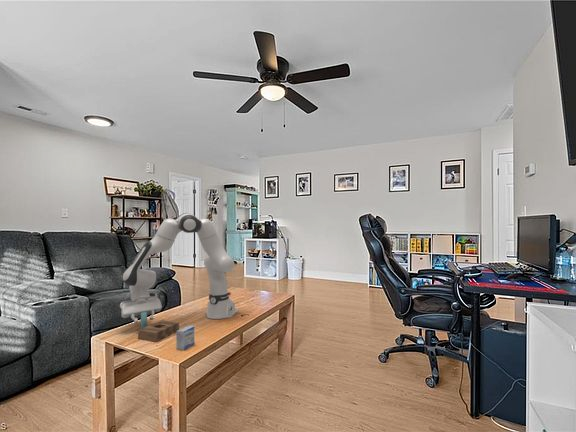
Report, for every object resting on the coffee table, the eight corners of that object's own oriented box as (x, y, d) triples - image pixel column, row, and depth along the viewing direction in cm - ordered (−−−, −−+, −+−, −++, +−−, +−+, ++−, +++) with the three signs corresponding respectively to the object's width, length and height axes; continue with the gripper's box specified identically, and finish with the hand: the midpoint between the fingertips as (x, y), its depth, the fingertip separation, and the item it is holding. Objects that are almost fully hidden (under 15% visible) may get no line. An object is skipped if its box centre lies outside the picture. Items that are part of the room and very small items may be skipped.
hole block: (161, 328, 162) (162, 320, 163) (179, 330, 158) (179, 322, 158) (138, 338, 148) (138, 329, 148) (156, 342, 143) (156, 332, 143)
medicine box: (183, 350, 134) (183, 331, 134) (175, 349, 135) (176, 330, 136) (194, 344, 141) (194, 326, 141) (187, 342, 143) (187, 324, 143)
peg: (143, 329, 160) (144, 311, 160) (147, 330, 159) (148, 312, 159) (139, 331, 157) (139, 313, 157) (143, 332, 156) (143, 313, 156)
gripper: (120, 298, 157) (123, 321, 149) (159, 293, 170) (164, 313, 162) (118, 305, 161) (121, 328, 153) (157, 299, 174) (162, 319, 166)
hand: (144, 320), depth 158 cm, fingers open, 6 cm apart
